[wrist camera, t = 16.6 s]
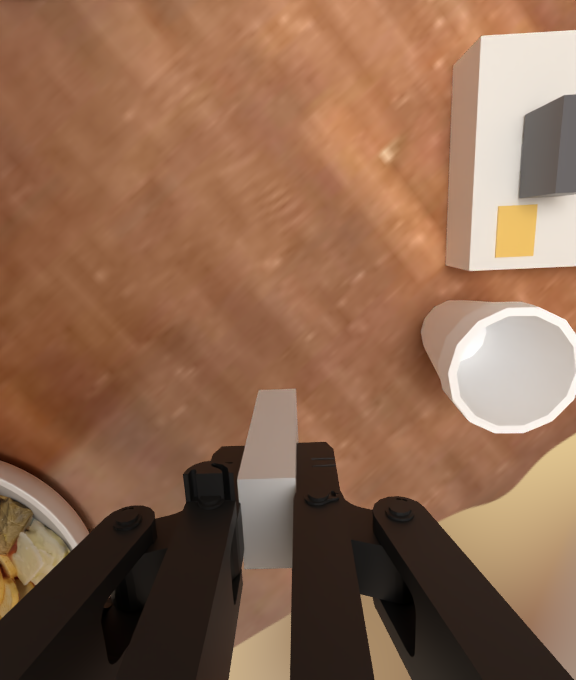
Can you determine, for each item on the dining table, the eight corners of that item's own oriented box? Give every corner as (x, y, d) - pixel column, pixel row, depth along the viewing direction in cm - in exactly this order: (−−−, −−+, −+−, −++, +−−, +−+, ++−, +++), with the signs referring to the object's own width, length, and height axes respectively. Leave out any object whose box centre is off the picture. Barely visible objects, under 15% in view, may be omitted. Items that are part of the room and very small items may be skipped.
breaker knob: (525, 114, 33) (564, 94, 28) (566, 112, 33) (612, 92, 28) (519, 198, 35) (555, 193, 30) (558, 196, 35) (600, 191, 30)
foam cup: (481, 267, 42) (560, 283, 30) (515, 350, 44) (602, 399, 31) (389, 311, 43) (427, 344, 31) (426, 391, 45) (476, 453, 33)
